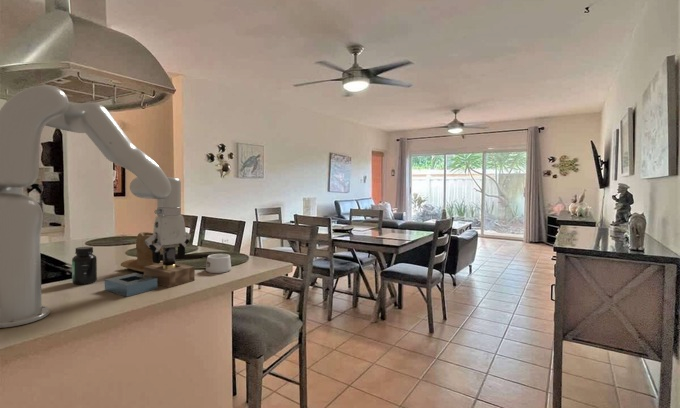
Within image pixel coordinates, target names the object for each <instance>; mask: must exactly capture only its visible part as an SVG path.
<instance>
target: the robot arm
mask: <svg viewBox="0 0 680 408" xmlns="http://www.w3.org/2000/svg"><path fill="white" fill-rule="evenodd" d="M68 98H69V97H68V96H67V94H66V93H65V92H64V90H62V89H60V88H59V87H57V86H54V85H49V84H42V85H35V86H31V87H29V88H26V89H23V90H19V91H18V92H16V93H15V94H14V95H13V96H12V97H10V98H9V99H8V100H7V101H6V102H5V103H4V104H3V105H2V107H1V108H0V328H1V329H2V328H11V327H17V326H18V327H19V326H22V325H27V324H30V323H34V322H36V321H40V320H42V319H44V318H46V317H47V316H48V315H49V314H50V312H51V311H50V307H48V306H46V305H43V304H42V299H43V298H42V267H41V266H42V263H41V262H42V261H41V260H42V259H41V234H42V228H43V222H44V213H43V209H42V207H41V204H39V202H37V201H36V200H35V199H34V198H32V197H30V196H28V195H26V194H24V188H27V187H29V186H30V187H31V185H33V184H35V182H36V181H37V180H38V179H39V175H40V150H41V149H40V145H41V138H42V132H43V129H44V127H45V126H46V127H50V128H54V129H58V130H62V131H66V132H71V133H77V134H86V136H87V137H88V139H90V141H91V142H92V143H93V144H94V145H95V146H96V148H97V149H98V150H99V151H100V152H101V153H102V155H103V156H104V157H105V159H106V160H108V161H110V162H111V163H112V164H115V165H117V166H119V167H122V168H124V169H126V170H128V172H131V173H132V174H133V175H134V176H135V178H133V179H132V180H131V182H130V184H129V190H130V192H131V194H132V195H133V196H135V197H137V198H140V199H146V200H147V199H148V200H151V199H152V200H156V209H154V214H156V215H157V216H155V218H154V224H153V232H152V233H153V235H152V236H150V237H149V238H147V239H146V240H145V243H146V245H147V247H148V248H149V249H150V250H151V251H152V260H153V263H158V264H159V263H161V261H160V254H161V253H160V252H159V250H160V248H161V247H162V246H163V247H167V246H174V245H178V246H177V254H178V258H185V254H186V247H187V246H188V244H189V242H190V240H191V236H192V235H191V233H189V232H186V222H185V218H184V215H182V181H181V179H180V178H178V177H172V176H171V177H170V176H168V177H167V174H166V173H165V172H164V170H163V169H162V168H161V166H159V164H157V162H156V161H155V160H154V159H153V158H151V157H150V156H149V155H147V153H145V152H144V151H142V150H141V149H140V148H138V147H137V146H136V145H135V144H133V142H132V141H131V139H130V138H129V137H128V136H127V134H126V133H125V132H124V130H123V129H122V128H121V126H120V125H119V124H118V122H117V121H116V119H115V118H114V117H113V115H112V114H111V113H110V112H109V110H108V109H107V108H106V107H105V106H104V105H102V104H100V103H98V102H92V101H89V102H81V103H75V102H70V101H69V99H68ZM152 241H153V242H154V245H152Z"/></svg>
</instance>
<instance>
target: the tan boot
mask: <svg viewBox="0 0 680 408" xmlns="http://www.w3.org/2000/svg"><path fill="white" fill-rule="evenodd" d="M152 235H153V232H149V231H148V232H147V231H140V232H139V233H138V234H137V236H136V244H135V249H136V255H137V256H136V259H135V258H134V259H128V260H125V261H123V262H121V263H120V266H121V267H123V268H126V269H129V270H131V271H132V270H133V271H137V272H141V273H144V267H145V266H150V265H155V264H158V263H153V260H152V251H151V250H150V249H149V248H148V247H147V245H146V243H145V240H146V239H147V238H149V237H150V236H152ZM152 245H154V242H153V241H152ZM163 247H164V246H162V247H161V248H160V250H159V252H160V254H161V252H163Z"/></svg>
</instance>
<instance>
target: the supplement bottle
mask: <svg viewBox="0 0 680 408" xmlns="http://www.w3.org/2000/svg"><path fill="white" fill-rule="evenodd" d="M93 253H94V247H93V246H79V247H75V253H74V254H75V255H74V256H73V257H72V259H71V273H72V274H71V278H72V279H71V282H72V284H73V285H74V286H75V285H76V286H85V285H90V284H93V283H96V282H97V281H98V260H97V259H98V258H97V255H95V254H93Z"/></svg>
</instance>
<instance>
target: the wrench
mask: <svg viewBox="0 0 680 408" xmlns="http://www.w3.org/2000/svg"><path fill="white" fill-rule="evenodd" d="M212 254H213V253H188V254H187V253H185V258H178V253H175V261H177V260H178V261H179V260H190V259H192V258H194V259H201V258H200V257H206V258H207V256H209V255H212ZM192 260H193V259H192ZM160 262H163V253H162V254H161V253H160Z"/></svg>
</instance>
